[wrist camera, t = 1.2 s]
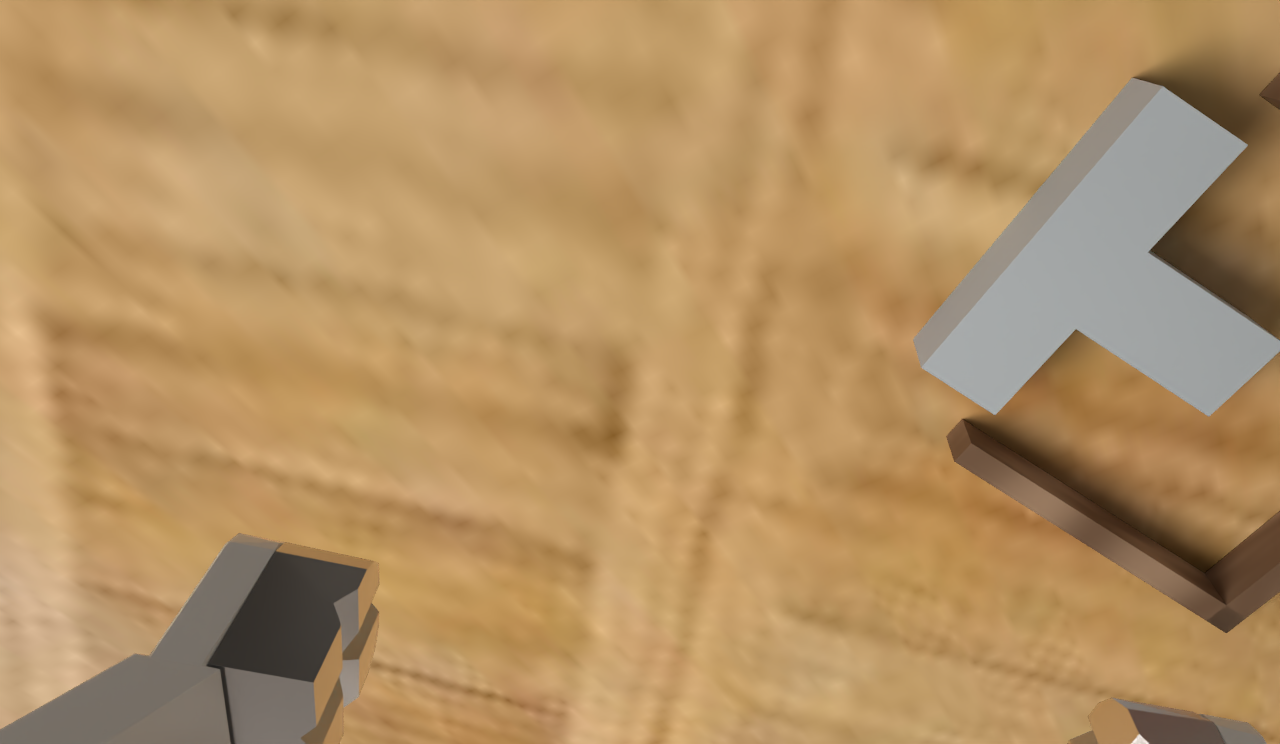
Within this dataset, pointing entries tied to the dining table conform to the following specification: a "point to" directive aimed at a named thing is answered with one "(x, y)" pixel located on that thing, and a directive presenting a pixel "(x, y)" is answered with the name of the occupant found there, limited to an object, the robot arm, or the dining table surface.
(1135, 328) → the T-block
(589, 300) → the dining table surface
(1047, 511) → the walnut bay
